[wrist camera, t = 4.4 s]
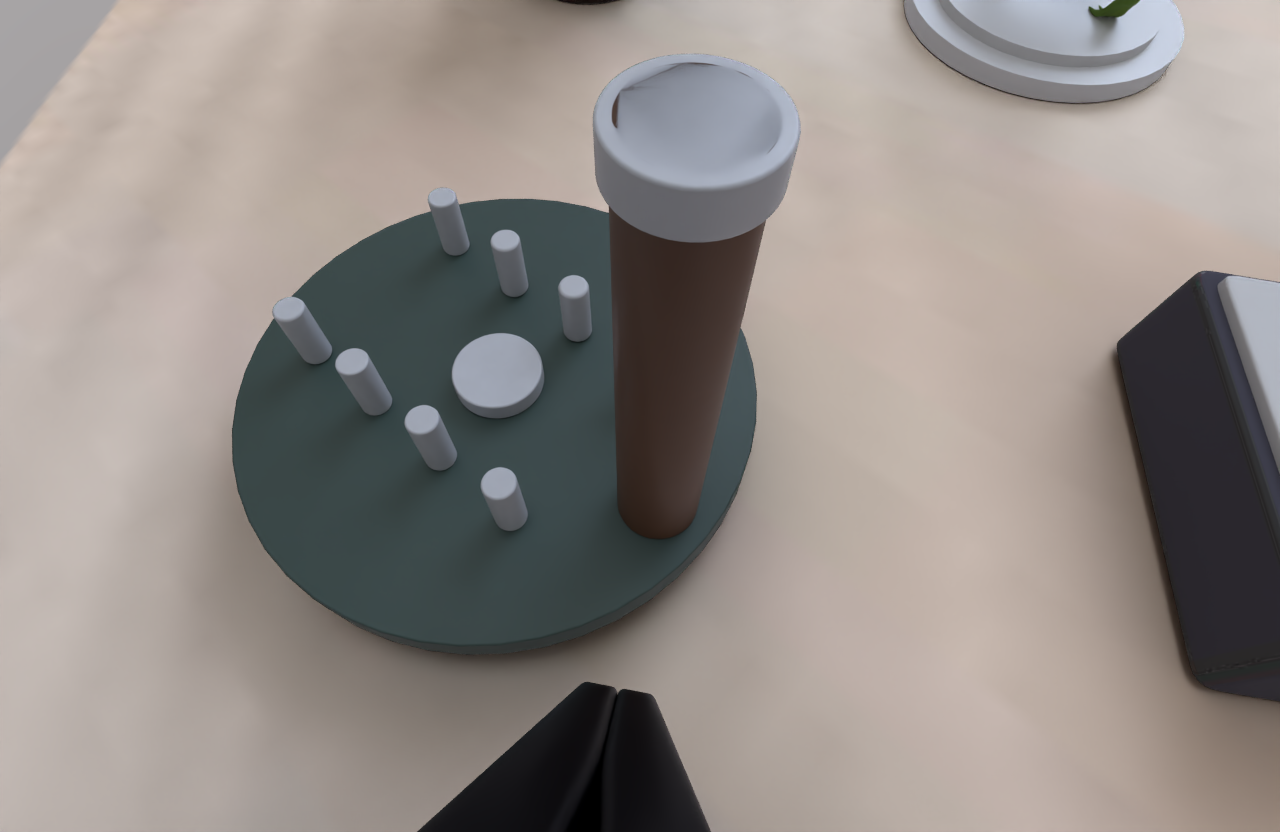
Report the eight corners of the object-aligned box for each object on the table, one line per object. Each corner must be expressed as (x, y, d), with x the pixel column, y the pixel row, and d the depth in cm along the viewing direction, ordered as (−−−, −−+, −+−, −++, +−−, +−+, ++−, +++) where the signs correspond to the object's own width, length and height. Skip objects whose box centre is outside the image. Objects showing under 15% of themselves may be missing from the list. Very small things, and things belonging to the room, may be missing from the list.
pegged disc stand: (144, 426, 19) (-435, -35, 9) (505, 162, 25) (416, -316, 14) (506, 793, 15) (221, 758, 4) (844, 375, 20) (1074, -82, 10)
